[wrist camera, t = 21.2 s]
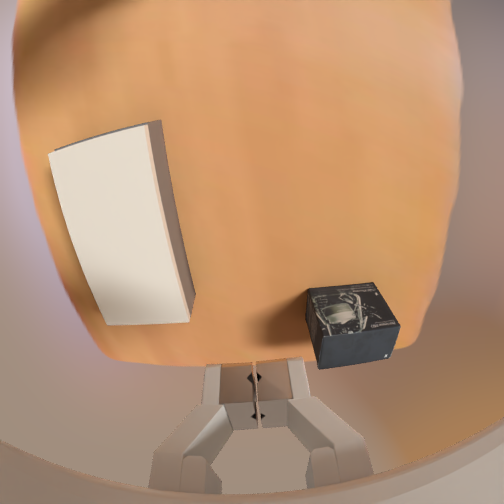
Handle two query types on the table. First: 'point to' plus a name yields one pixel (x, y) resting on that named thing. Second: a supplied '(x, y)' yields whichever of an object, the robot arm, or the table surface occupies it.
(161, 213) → the cover
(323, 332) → the box
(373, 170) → the table surface
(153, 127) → the trough
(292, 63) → the table surface
